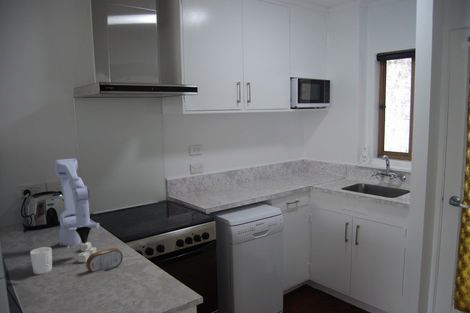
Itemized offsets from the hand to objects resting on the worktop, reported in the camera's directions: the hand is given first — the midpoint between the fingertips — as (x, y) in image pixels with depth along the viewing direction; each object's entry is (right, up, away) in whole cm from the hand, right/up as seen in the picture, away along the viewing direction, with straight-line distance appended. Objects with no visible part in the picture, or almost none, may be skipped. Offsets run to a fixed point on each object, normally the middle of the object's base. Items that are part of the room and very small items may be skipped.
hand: (84, 242), depth 165 cm
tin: (+14, -9, -12) cm, 21 cm away
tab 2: (+2, -7, -6) cm, 9 cm away
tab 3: (+3, -6, 0) cm, 7 cm away
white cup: (-11, -10, -14) cm, 21 cm away
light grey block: (-2, -5, +7) cm, 9 cm away
